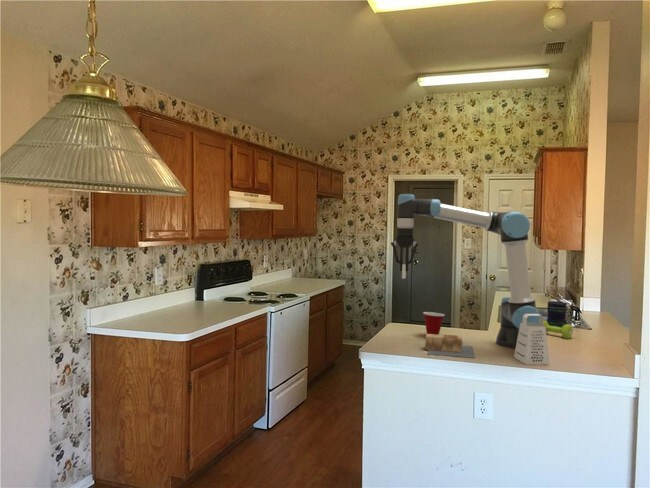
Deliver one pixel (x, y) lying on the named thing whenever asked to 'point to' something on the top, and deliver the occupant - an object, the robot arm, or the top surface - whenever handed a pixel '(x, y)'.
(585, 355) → the top surface
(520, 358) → the grater
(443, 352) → the mat
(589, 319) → the top surface
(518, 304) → the robot arm
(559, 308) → the storage jar
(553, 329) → the dumbbell
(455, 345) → the oak block
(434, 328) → the plastic cup
